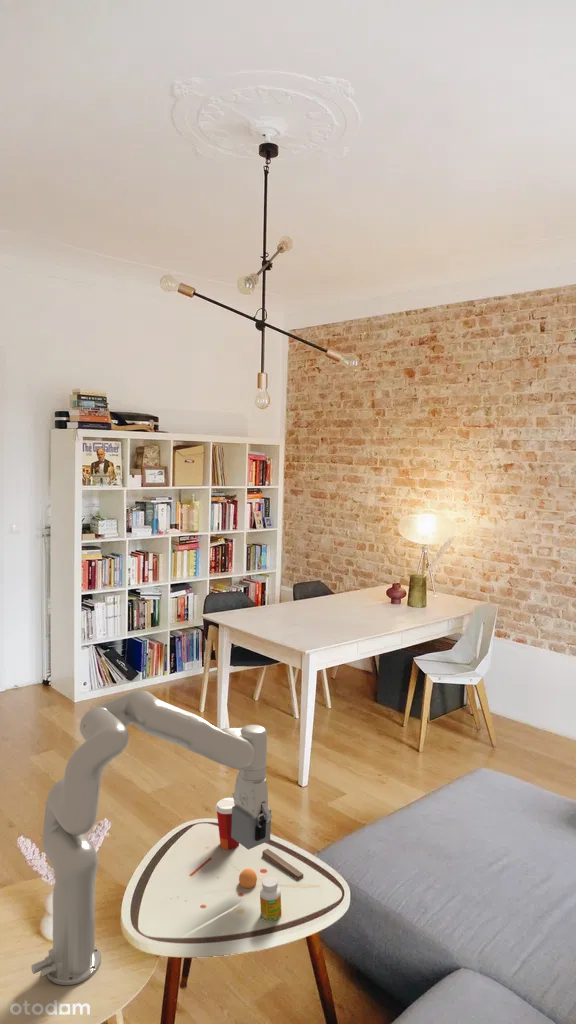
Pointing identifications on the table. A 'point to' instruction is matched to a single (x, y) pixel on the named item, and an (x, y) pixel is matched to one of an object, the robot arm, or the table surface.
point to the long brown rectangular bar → (282, 864)
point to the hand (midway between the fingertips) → (250, 832)
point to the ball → (248, 878)
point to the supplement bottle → (270, 900)
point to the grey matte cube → (247, 829)
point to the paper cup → (226, 823)
